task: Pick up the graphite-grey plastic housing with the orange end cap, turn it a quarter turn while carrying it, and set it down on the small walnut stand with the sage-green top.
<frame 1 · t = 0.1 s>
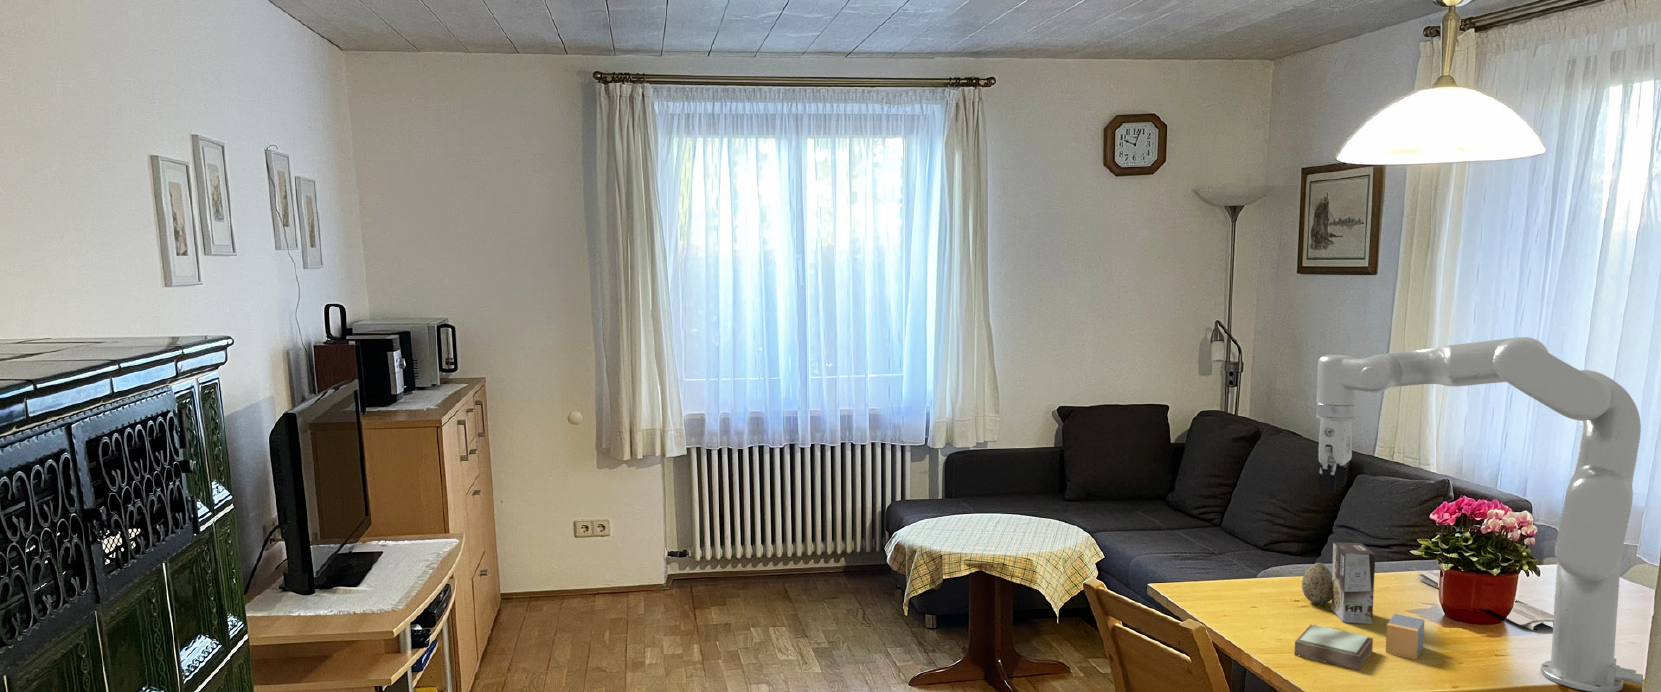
hand: (1332, 488, 214), 31 cm above the table, tool pointing down, fingers open, 9 cm apart
stand: (1333, 652, 201), on the table
newspaper: (1483, 605, 230), on the table
coffee box: (1351, 617, 222), on the table
housing: (1404, 649, 203), on the table
decorative egg: (1317, 604, 230), on the table
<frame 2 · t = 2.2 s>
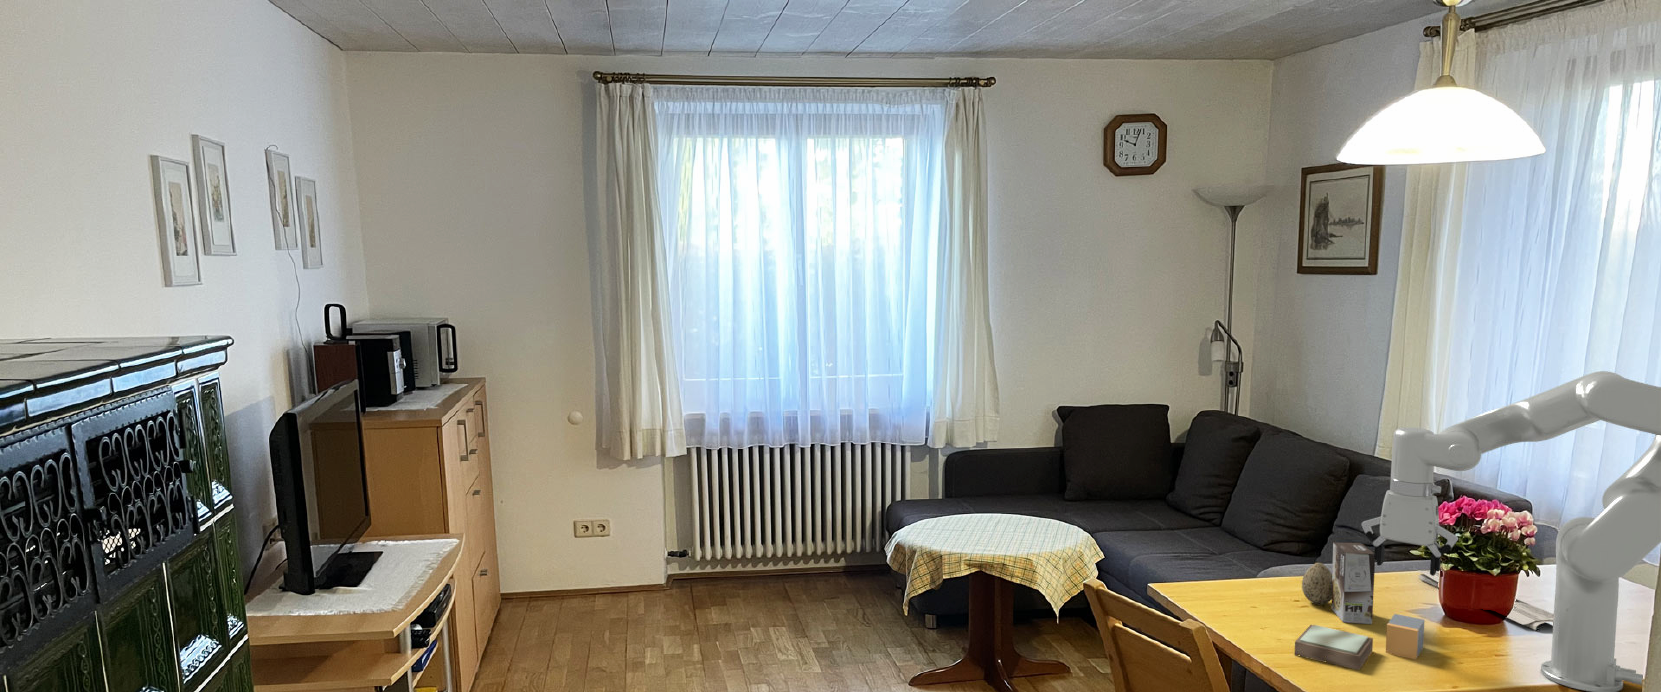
hand: (1406, 568, 201), 17 cm above the table, tool pointing down, fingers open, 9 cm apart
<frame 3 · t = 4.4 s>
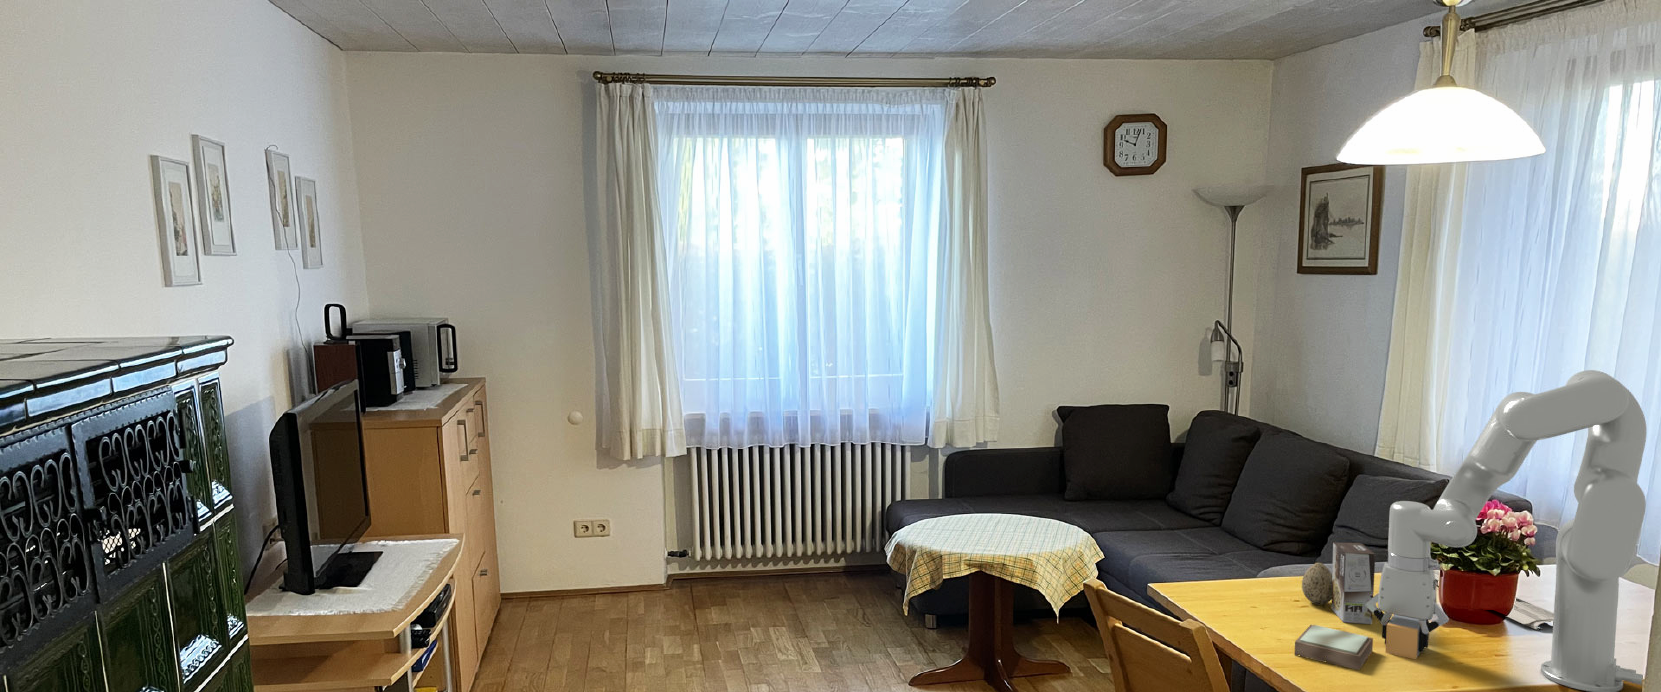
hand: (1404, 645, 203), 1 cm above the table, tool pointing down, fingers closed on housing, 5 cm apart
housing: (1404, 649, 203), on the table, touching gripper
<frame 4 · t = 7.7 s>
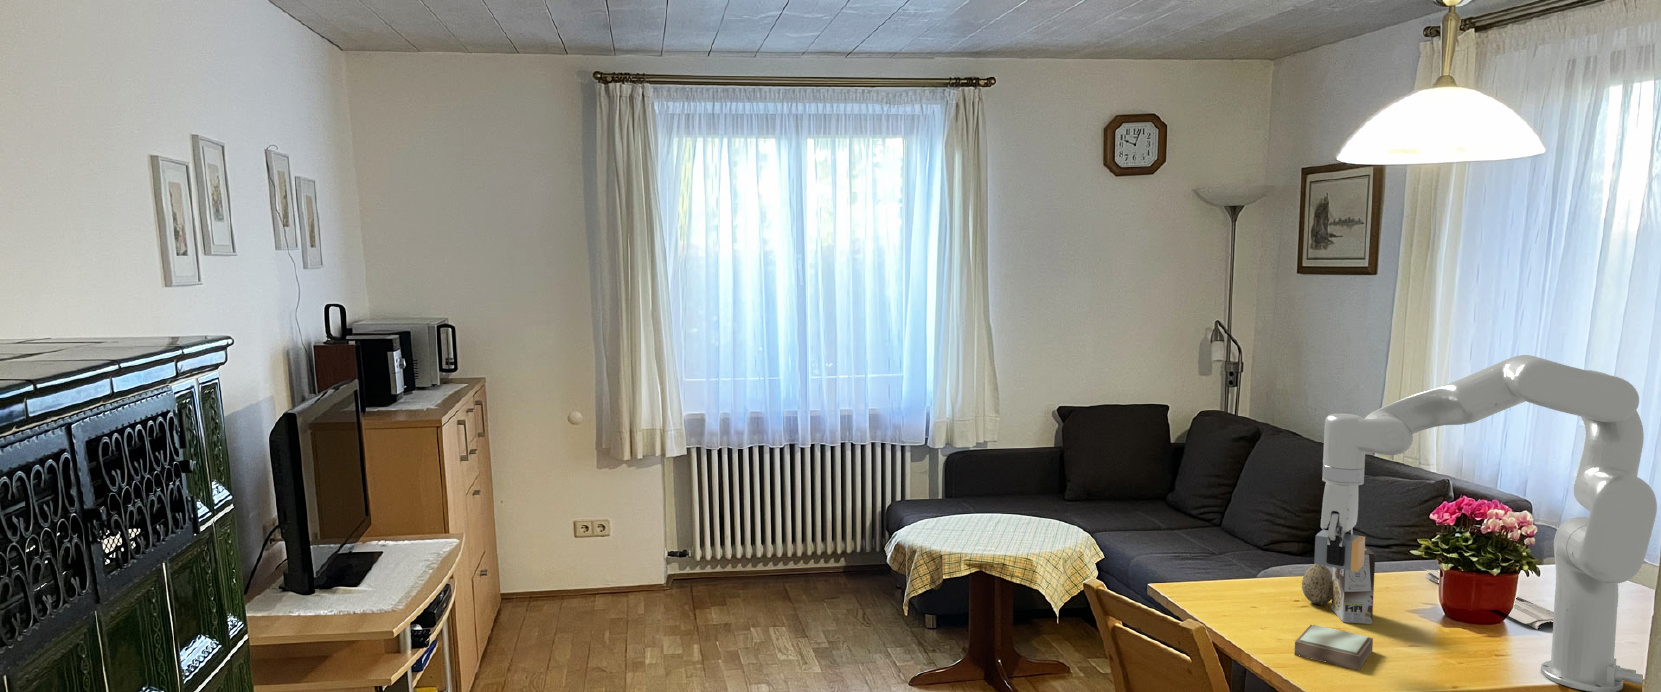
hand: (1339, 560, 200), 20 cm above the table, tool pointing down, fingers closed on housing, 5 cm apart
housing: (1339, 564, 200), point 19 cm above the table, touching gripper
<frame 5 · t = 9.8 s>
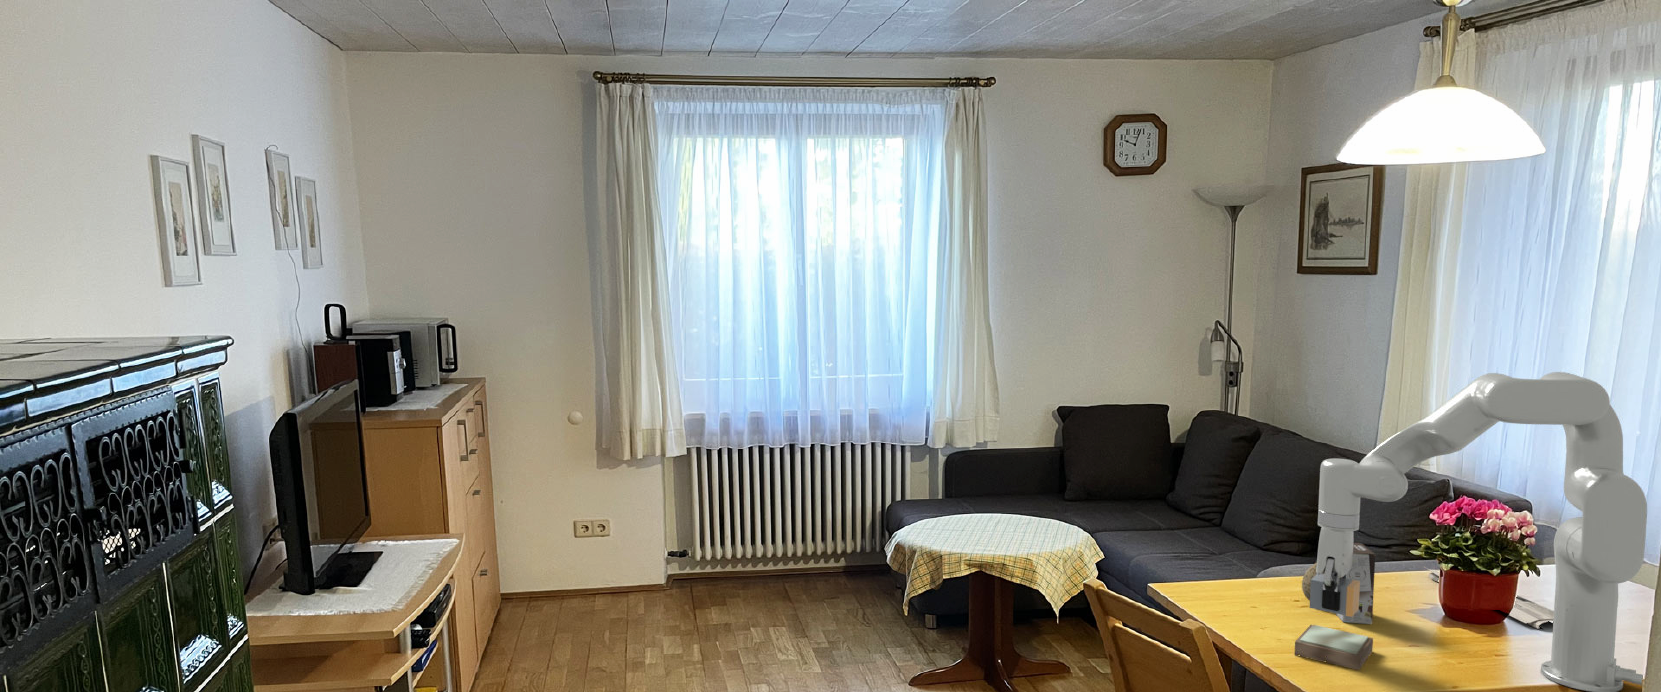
hand: (1334, 604, 200), 10 cm above the table, tool pointing down, fingers closed on housing, 5 cm apart
housing: (1334, 608, 201), point 9 cm above the table, touching gripper
when the fingers open (5 cm above the table, at t = 11.2 s): housing drops 1 cm, resting on stand.
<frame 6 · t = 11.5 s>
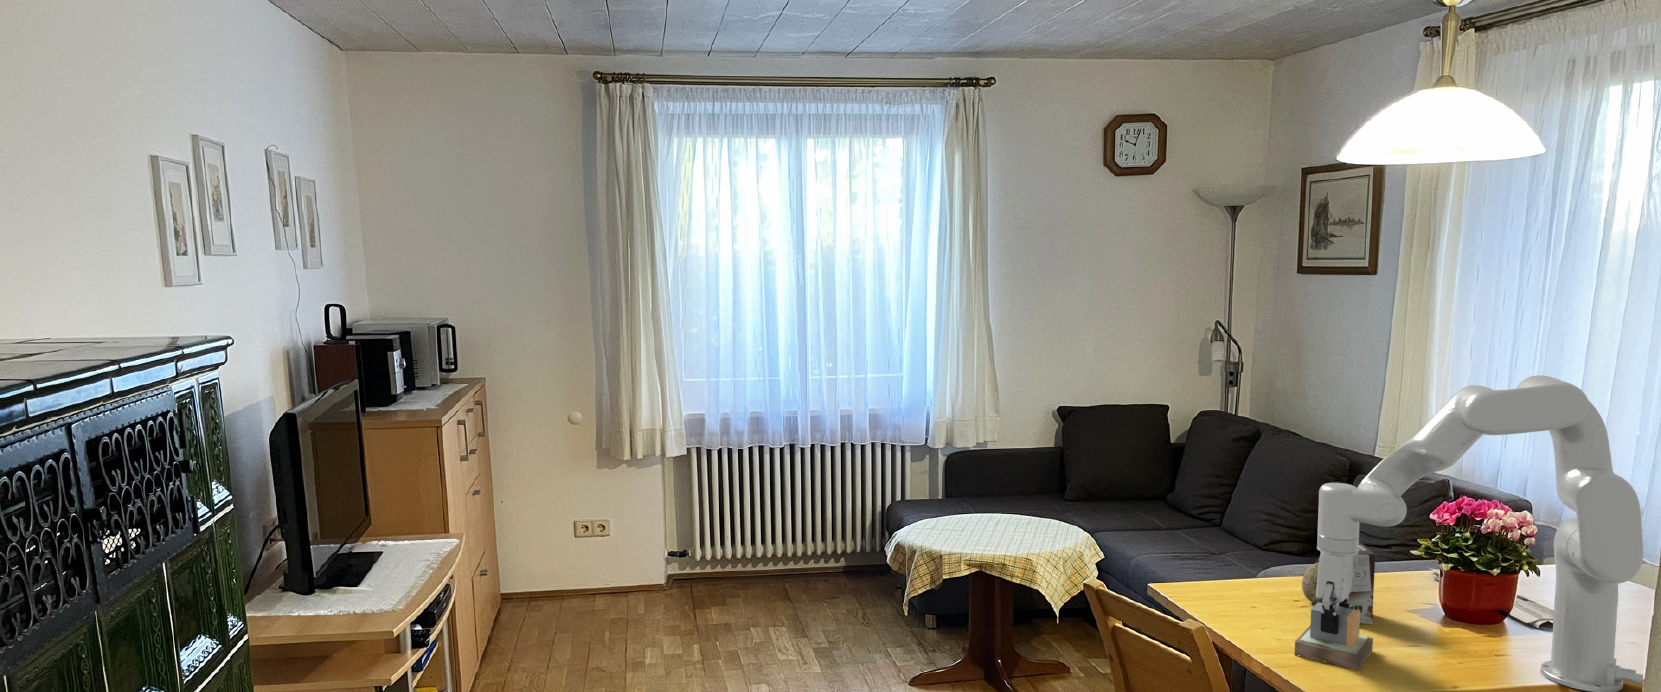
hand: (1334, 626, 201), 6 cm above the table, tool pointing down, fingers open, 8 cm apart
housing: (1334, 638, 201), point 3 cm above the table, touching stand
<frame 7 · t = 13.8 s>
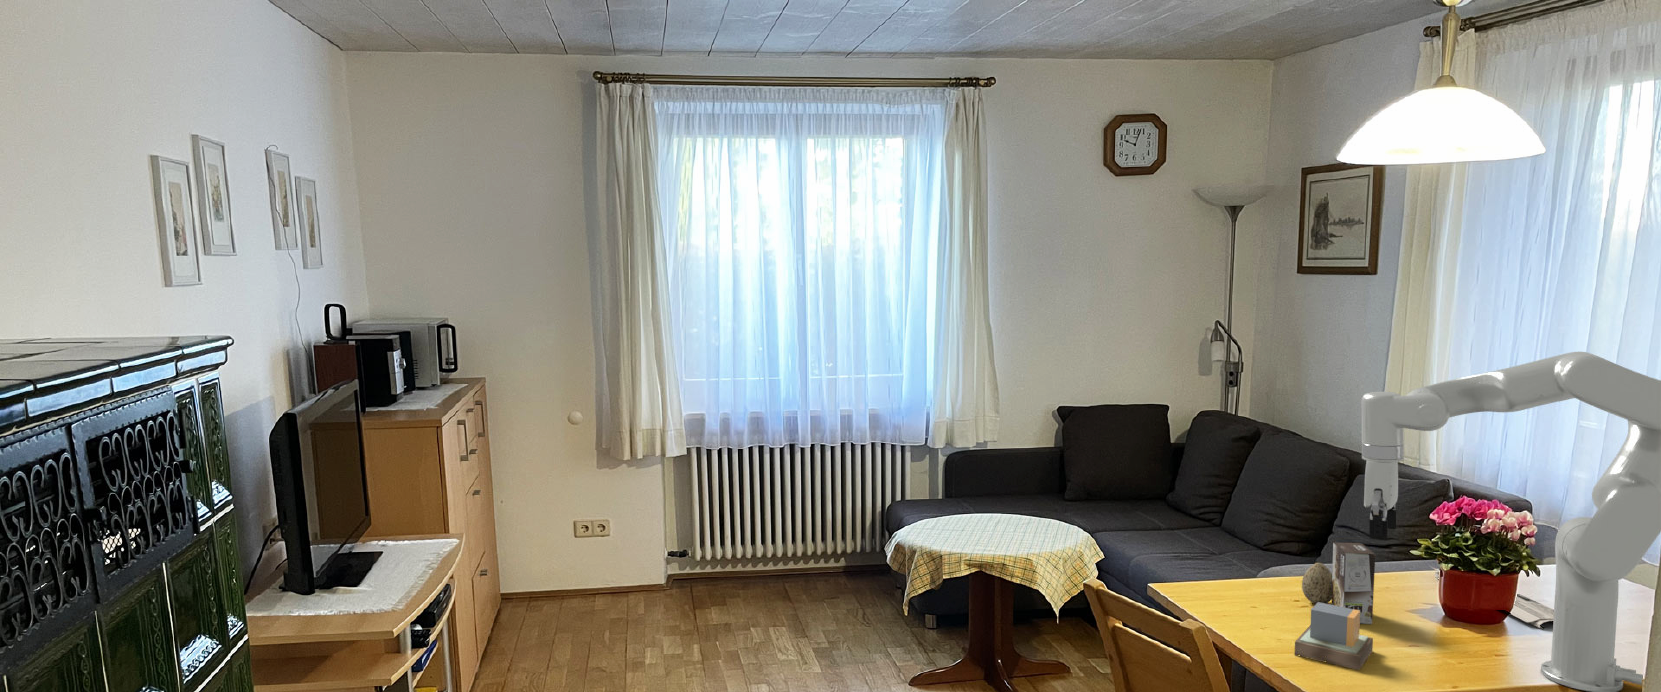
hand: (1383, 533, 201), 25 cm above the table, tool pointing down, fingers open, 9 cm apart
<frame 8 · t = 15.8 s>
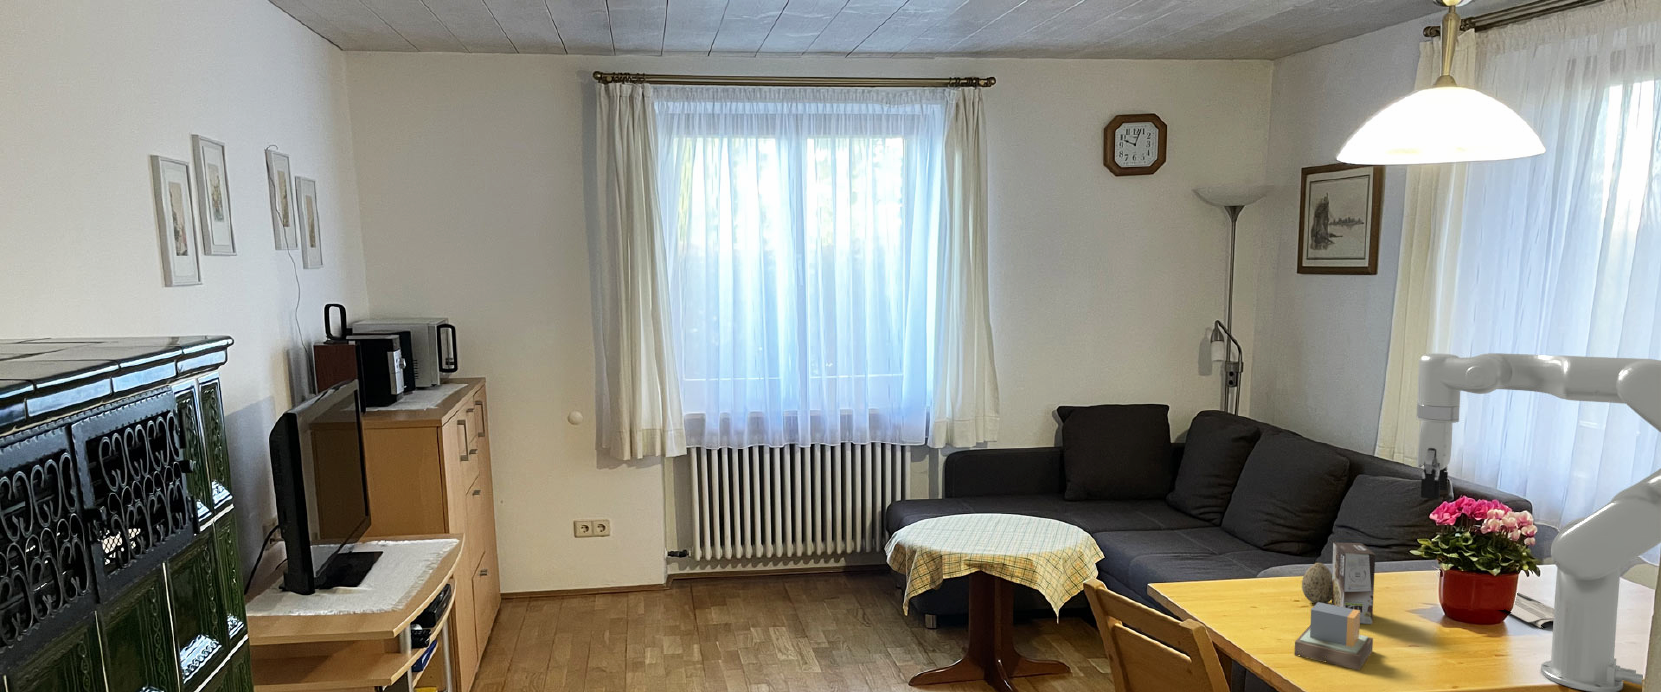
hand: (1434, 493, 203), 32 cm above the table, tool pointing down, fingers open, 9 cm apart
at the end: housing inside the target area on the stand (0.1 cm from its centre), point 3.2 cm above the stand's base; housing tilted 0°; the gripper is holding nothing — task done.
